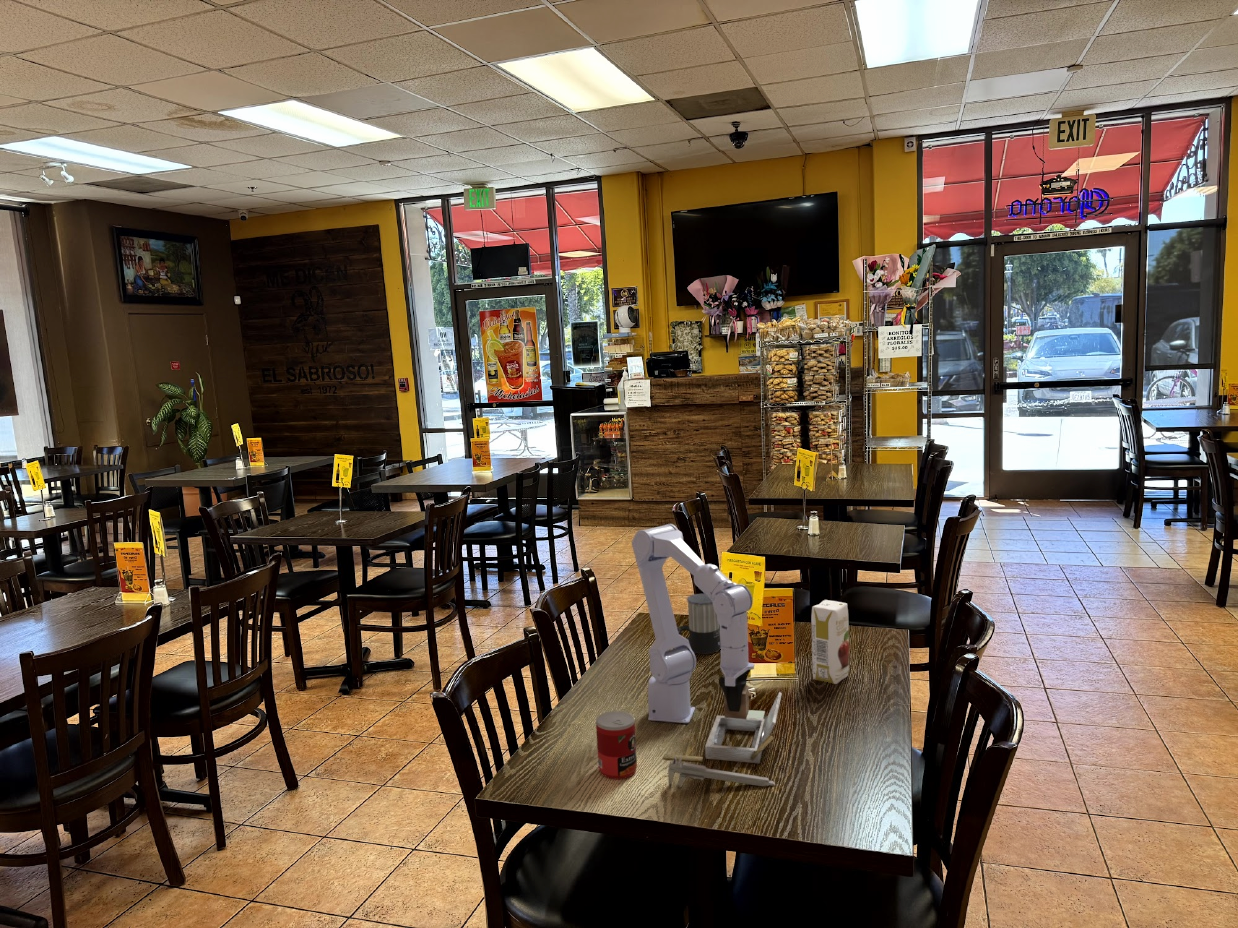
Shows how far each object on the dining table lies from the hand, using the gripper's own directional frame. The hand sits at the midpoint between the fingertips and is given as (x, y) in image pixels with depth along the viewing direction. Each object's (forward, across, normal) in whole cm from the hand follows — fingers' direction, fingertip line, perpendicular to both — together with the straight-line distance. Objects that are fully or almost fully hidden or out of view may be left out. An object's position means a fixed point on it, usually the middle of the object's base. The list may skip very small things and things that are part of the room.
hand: (736, 705), depth 175 cm
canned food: (+9, -16, +22) cm, 28 cm away
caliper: (+9, -18, 0) cm, 20 cm away
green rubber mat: (+9, +12, 0) cm, 15 cm away
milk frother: (+9, +58, +20) cm, 62 cm away
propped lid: (+8, -1, -6) cm, 10 cm away
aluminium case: (+8, 0, 0) cm, 9 cm away
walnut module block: (+2, 0, 0) cm, 2 cm away
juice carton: (+9, +40, -18) cm, 44 cm away
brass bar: (+9, -8, +10) cm, 16 cm away
